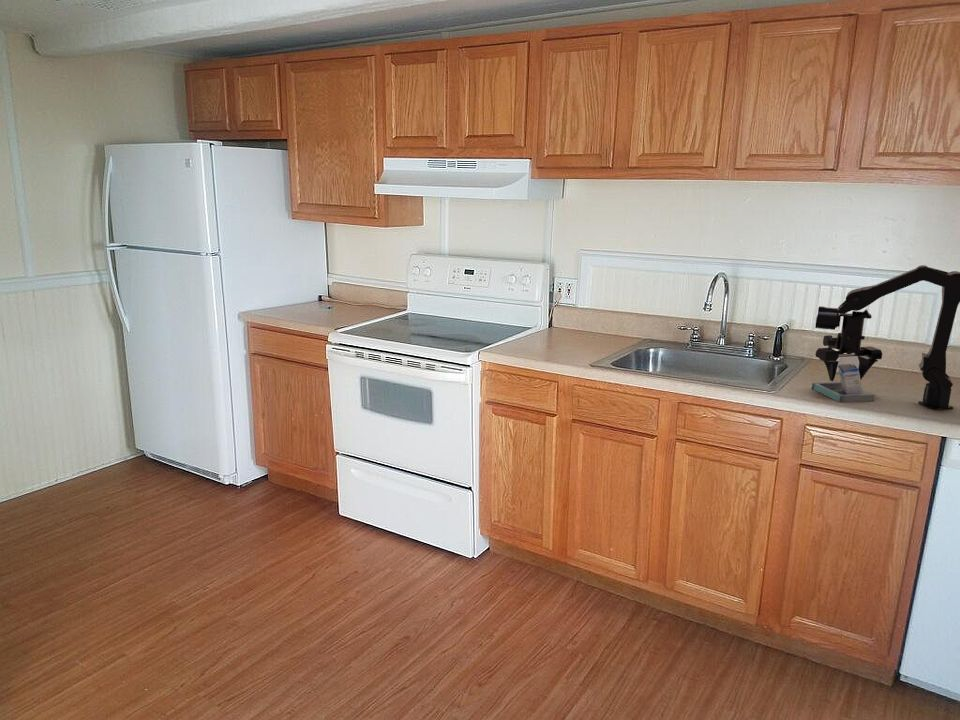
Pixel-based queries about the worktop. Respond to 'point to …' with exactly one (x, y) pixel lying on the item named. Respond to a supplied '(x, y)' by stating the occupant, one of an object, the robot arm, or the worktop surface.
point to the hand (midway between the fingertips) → (845, 380)
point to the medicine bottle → (847, 360)
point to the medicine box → (850, 378)
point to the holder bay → (825, 389)
